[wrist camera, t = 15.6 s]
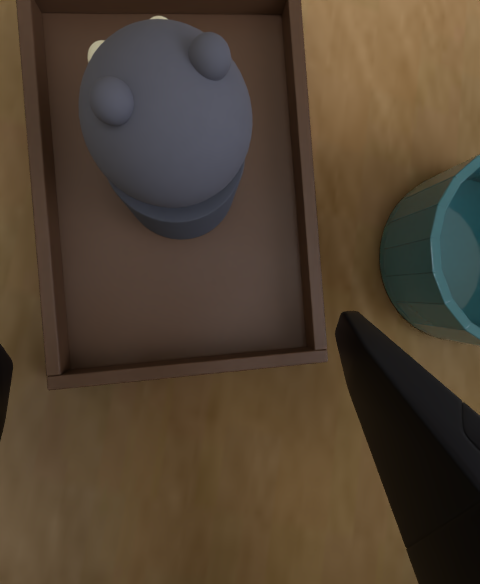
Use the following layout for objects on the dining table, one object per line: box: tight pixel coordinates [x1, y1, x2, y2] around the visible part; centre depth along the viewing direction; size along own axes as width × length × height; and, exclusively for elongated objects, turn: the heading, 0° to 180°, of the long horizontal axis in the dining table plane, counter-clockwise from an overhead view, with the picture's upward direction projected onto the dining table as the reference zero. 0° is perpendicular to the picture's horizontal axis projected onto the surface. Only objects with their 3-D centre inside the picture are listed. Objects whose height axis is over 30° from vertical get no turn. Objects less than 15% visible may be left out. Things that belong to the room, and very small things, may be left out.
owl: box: [79, 16, 253, 239], centre depth 15 cm, size 6×6×11 cm
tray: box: [16, 0, 328, 390], centre depth 20 cm, size 20×14×2 cm
